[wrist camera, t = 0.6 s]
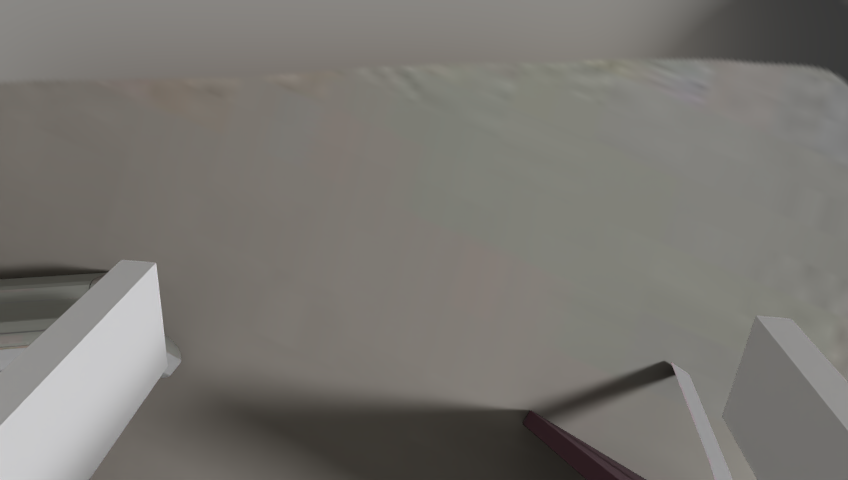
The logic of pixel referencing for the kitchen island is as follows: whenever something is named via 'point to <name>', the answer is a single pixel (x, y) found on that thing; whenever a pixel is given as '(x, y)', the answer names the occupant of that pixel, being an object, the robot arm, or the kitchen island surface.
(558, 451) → the picture frame
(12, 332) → the digital clock
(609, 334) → the kitchen island surface
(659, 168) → the kitchen island surface
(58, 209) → the kitchen island surface
